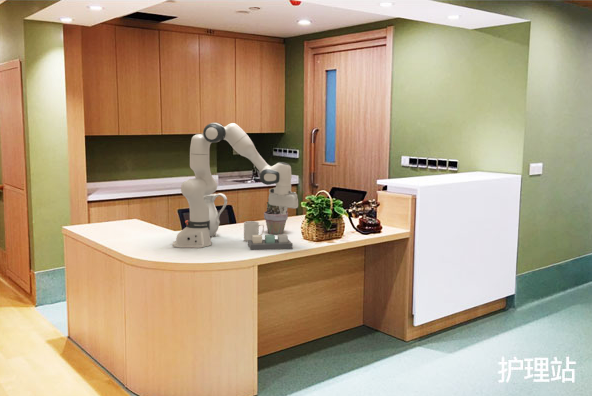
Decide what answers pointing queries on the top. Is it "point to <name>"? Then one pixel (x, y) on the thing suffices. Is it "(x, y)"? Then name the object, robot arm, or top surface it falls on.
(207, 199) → the pitcher
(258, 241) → the key left
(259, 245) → the keypad
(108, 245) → the top surface
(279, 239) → the key right
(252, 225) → the mug
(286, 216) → the potted plant
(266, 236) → the key mid
